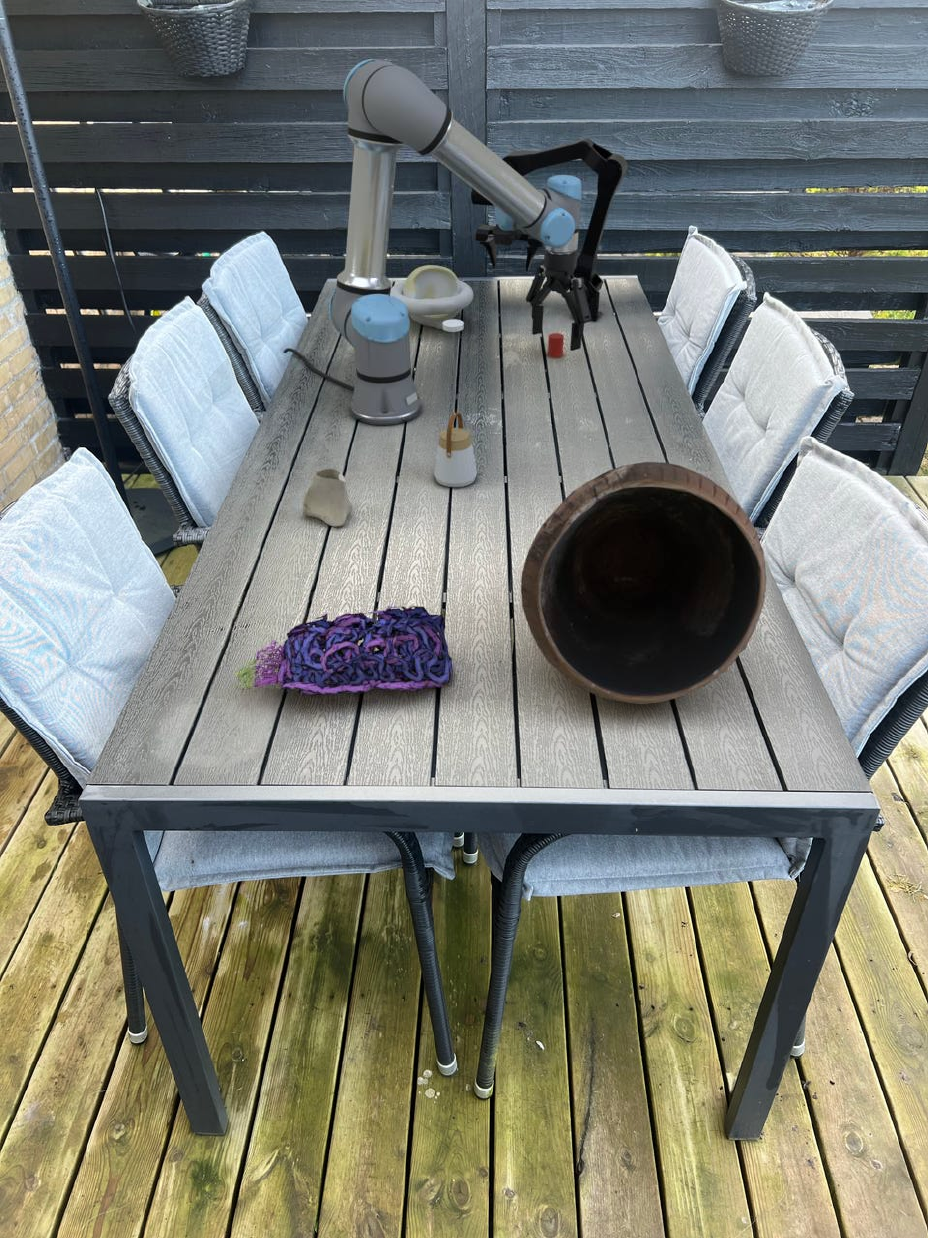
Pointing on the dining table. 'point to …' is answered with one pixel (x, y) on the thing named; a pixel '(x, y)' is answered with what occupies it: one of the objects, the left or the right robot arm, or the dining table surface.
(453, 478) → the pendant light
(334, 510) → the bone
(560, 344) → the can
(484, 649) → the dining table surface
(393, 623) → the decorative ornament
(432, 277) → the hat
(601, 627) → the pot
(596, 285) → the right robot arm
